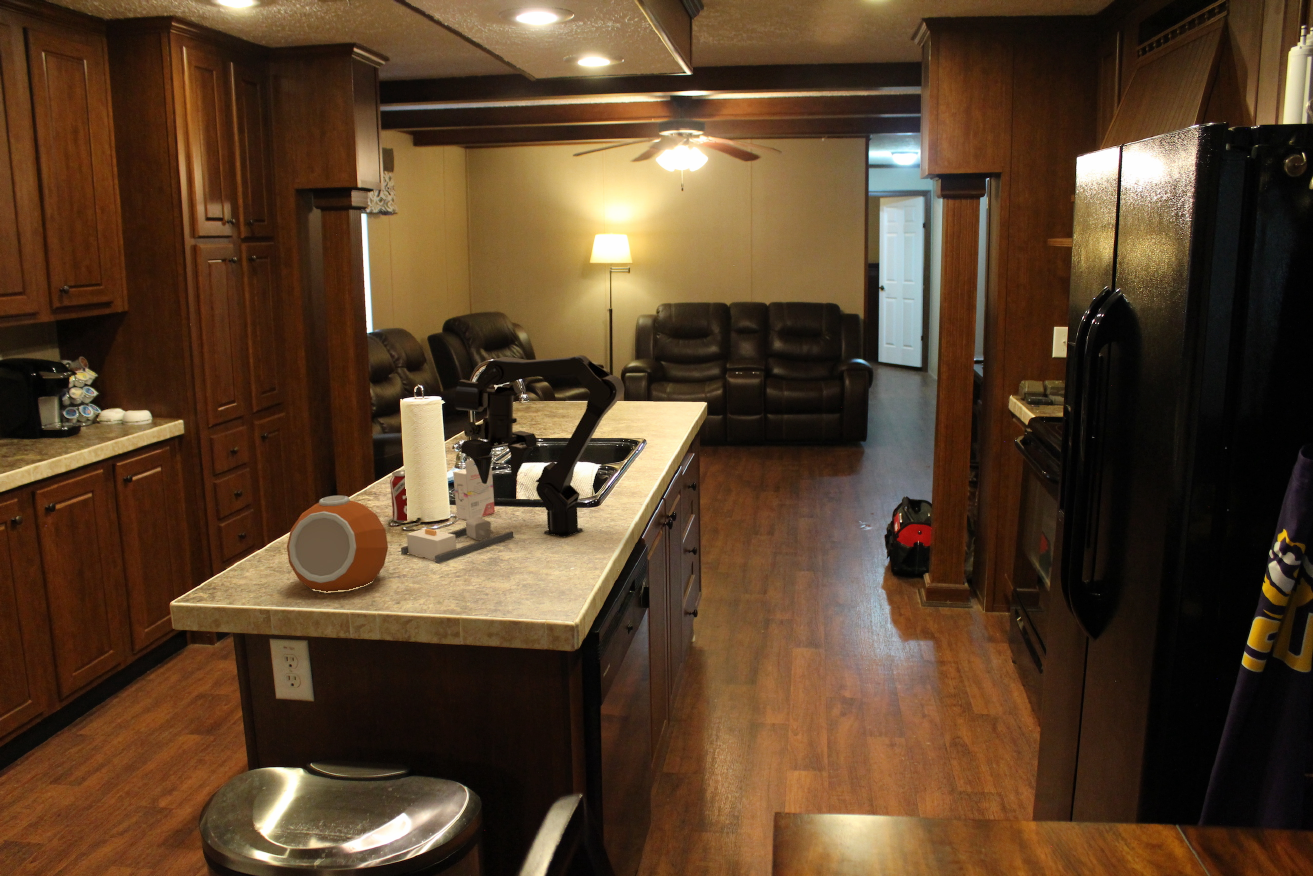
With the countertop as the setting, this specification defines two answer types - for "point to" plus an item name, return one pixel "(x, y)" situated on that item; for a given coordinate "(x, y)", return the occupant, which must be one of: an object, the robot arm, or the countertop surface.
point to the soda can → (398, 496)
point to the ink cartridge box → (473, 493)
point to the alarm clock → (337, 545)
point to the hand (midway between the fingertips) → (499, 480)
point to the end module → (430, 543)
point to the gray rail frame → (469, 547)
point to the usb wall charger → (478, 528)
